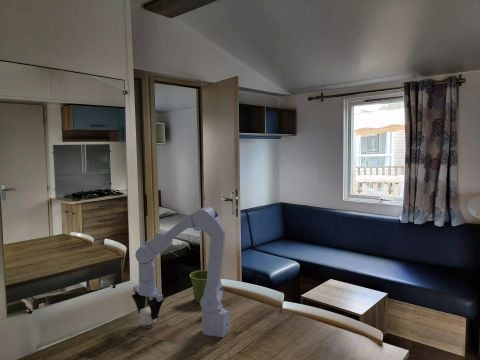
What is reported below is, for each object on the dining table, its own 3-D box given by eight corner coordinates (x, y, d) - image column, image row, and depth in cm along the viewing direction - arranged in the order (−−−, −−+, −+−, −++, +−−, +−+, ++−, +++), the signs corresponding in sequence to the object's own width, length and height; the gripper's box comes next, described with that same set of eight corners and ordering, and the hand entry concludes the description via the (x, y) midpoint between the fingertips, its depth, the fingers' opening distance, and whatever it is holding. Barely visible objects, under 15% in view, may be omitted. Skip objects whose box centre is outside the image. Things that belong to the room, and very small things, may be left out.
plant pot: (206, 308, 151) (206, 281, 150) (184, 302, 157) (183, 276, 156) (223, 298, 161) (222, 272, 160) (201, 293, 167) (200, 268, 166)
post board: (191, 332, 131) (191, 315, 130) (177, 346, 121) (176, 328, 121) (144, 323, 138) (143, 307, 137) (126, 335, 129) (126, 318, 128)
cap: (159, 320, 133) (158, 310, 133) (145, 326, 129) (145, 315, 129) (150, 316, 137) (150, 305, 137) (136, 321, 133) (136, 310, 133)
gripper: (169, 279, 131) (170, 317, 132) (143, 271, 140) (144, 306, 141) (153, 285, 125) (154, 324, 126) (127, 276, 134) (128, 313, 135)
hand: (148, 315), depth 133 cm, fingers open, 7 cm apart
